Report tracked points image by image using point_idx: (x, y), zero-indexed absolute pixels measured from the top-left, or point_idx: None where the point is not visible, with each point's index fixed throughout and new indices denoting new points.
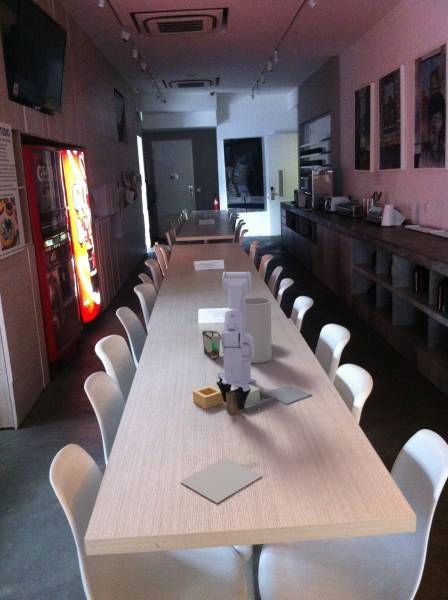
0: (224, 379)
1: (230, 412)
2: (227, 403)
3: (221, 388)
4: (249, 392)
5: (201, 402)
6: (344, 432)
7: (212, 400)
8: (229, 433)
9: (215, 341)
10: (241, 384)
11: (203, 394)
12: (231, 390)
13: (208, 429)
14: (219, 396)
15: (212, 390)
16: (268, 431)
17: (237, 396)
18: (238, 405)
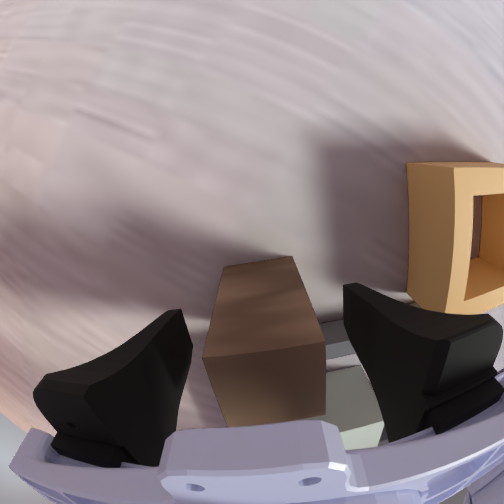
0: (359, 496)
1: (251, 266)
2: (290, 285)
3: (405, 328)
4: None
5: (454, 163)
6: (28, 425)
7: (430, 228)
8: (43, 149)
9: None
10: (37, 483)
11: (490, 191)
12: (325, 393)
13: (128, 54)
14: (432, 290)
15: (495, 282)
16: (24, 311)
17: (93, 365)
18: (151, 323)
